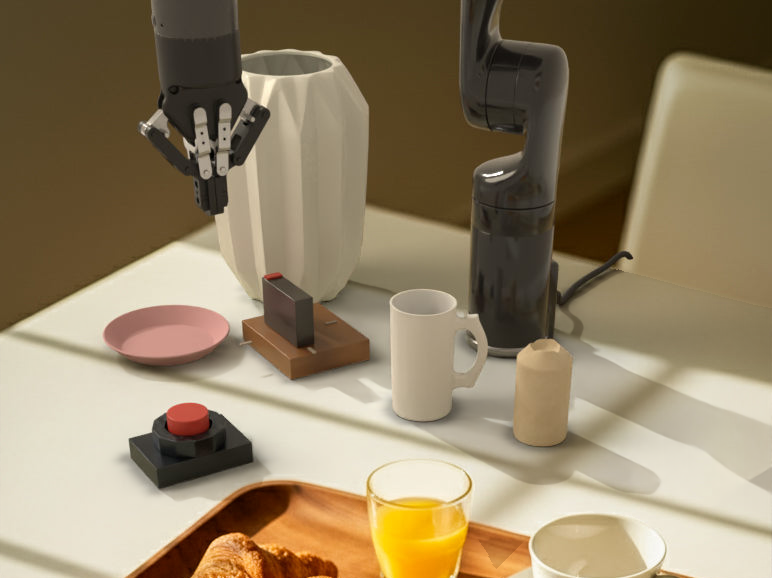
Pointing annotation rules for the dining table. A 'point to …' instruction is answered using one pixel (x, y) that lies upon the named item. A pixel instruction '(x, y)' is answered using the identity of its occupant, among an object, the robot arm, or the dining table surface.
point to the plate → (166, 334)
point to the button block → (189, 451)
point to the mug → (429, 353)
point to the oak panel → (329, 350)
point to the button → (188, 419)
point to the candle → (542, 393)
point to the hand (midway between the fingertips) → (213, 212)
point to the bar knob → (288, 309)
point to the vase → (299, 176)
